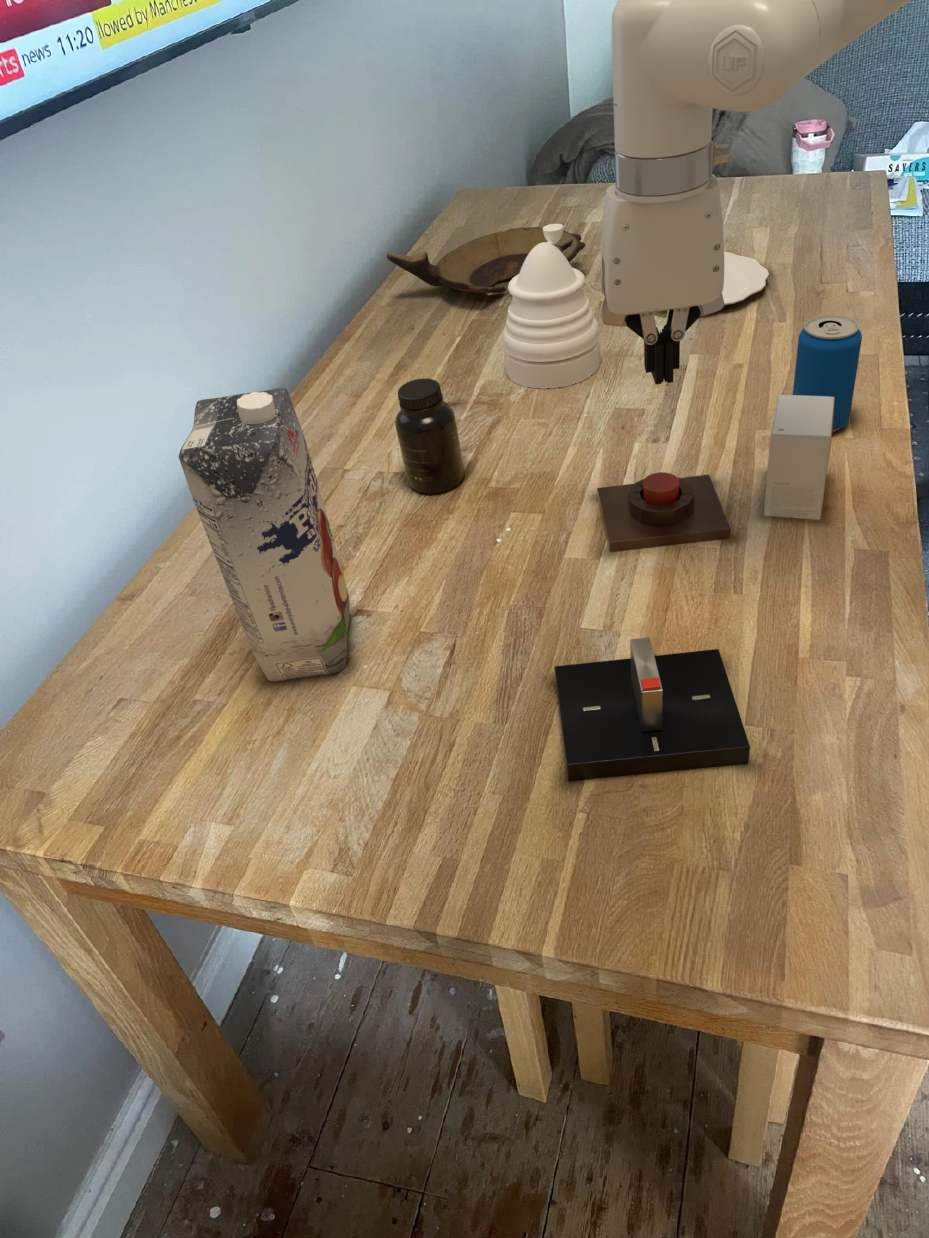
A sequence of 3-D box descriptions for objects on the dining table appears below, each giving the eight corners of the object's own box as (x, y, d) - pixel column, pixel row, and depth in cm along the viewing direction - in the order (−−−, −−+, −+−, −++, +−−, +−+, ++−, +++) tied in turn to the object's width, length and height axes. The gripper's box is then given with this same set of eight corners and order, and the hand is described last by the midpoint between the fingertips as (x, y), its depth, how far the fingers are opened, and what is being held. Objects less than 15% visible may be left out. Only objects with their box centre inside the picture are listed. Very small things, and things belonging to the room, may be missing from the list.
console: (717, 673, 82) (718, 647, 80) (747, 772, 73) (750, 745, 71) (556, 690, 83) (554, 664, 81) (569, 789, 74) (566, 763, 72)
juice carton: (260, 697, 87) (160, 445, 70) (272, 622, 95) (184, 380, 77) (354, 684, 87) (277, 427, 69) (358, 611, 95) (290, 364, 77)
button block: (708, 491, 102) (709, 459, 99) (729, 546, 95) (731, 513, 92) (597, 504, 103) (596, 473, 100) (609, 560, 95) (608, 528, 93)
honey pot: (549, 337, 136) (538, 208, 124) (619, 358, 128) (615, 223, 116) (487, 373, 130) (470, 242, 118) (557, 398, 122) (546, 260, 110)
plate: (609, 317, 138) (608, 306, 137) (641, 261, 152) (641, 250, 151) (756, 321, 131) (757, 309, 130) (775, 262, 145) (776, 251, 144)
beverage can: (842, 407, 111) (856, 310, 103) (853, 436, 106) (869, 336, 98) (785, 411, 112) (795, 315, 104) (794, 439, 107) (805, 341, 99)
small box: (819, 528, 95) (832, 437, 88) (761, 523, 97) (770, 433, 90) (824, 483, 100) (836, 395, 93) (769, 480, 102) (777, 392, 95)
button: (675, 484, 98) (675, 470, 96) (682, 503, 95) (682, 489, 94) (640, 488, 98) (640, 474, 97) (646, 508, 95) (646, 493, 94)
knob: (630, 678, 78) (629, 636, 75) (650, 676, 78) (650, 634, 75) (642, 732, 74) (641, 690, 71) (662, 730, 74) (662, 688, 71)
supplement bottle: (430, 459, 115) (414, 368, 107) (476, 471, 111) (462, 379, 103) (396, 488, 111) (376, 396, 103) (442, 501, 107) (425, 408, 100)
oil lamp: (570, 311, 141) (567, 260, 136) (385, 312, 150) (375, 265, 145) (596, 253, 157) (594, 206, 152) (427, 258, 166) (420, 213, 161)
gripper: (745, 142, 78) (733, 348, 90) (565, 169, 79) (577, 369, 91) (768, 169, 72) (752, 385, 84) (574, 197, 73) (586, 406, 85)
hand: (661, 376), depth 88 cm, fingers closed
